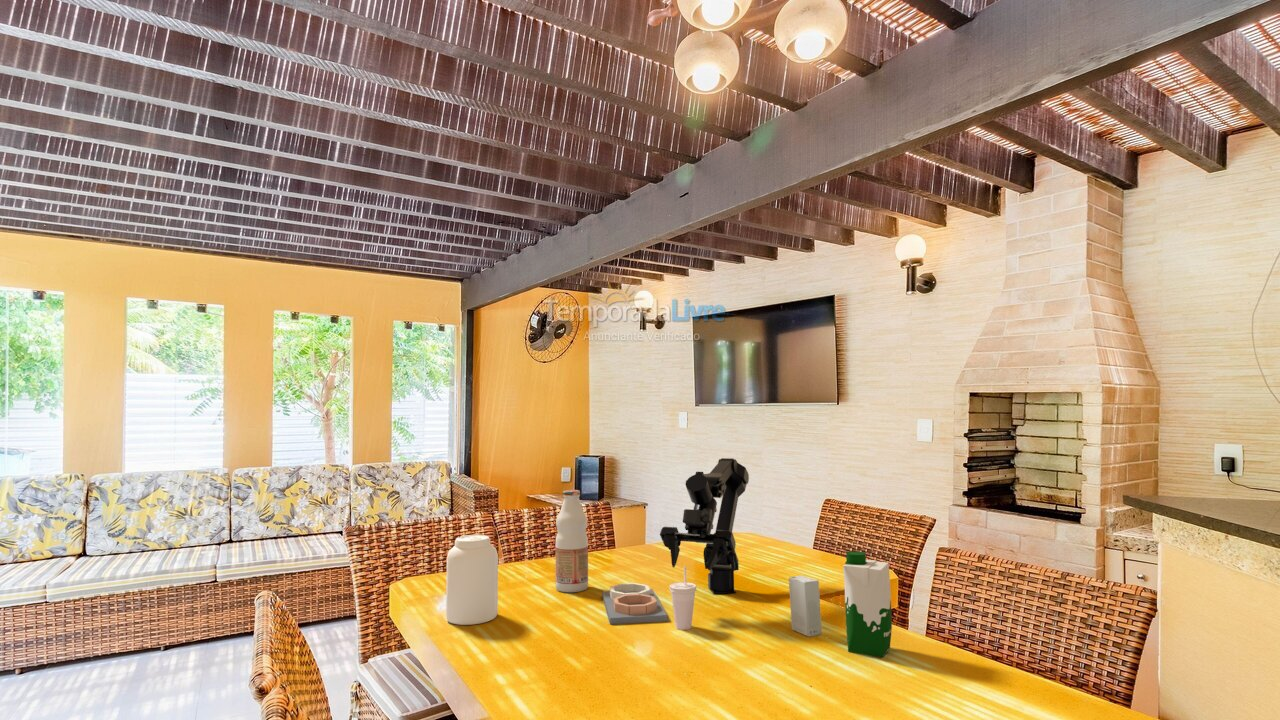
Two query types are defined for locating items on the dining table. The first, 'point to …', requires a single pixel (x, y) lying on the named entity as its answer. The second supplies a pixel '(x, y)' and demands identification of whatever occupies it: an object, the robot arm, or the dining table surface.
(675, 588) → the smoothie
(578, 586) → the fruit juice
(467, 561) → the white plastic jar
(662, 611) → the board
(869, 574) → the milk carton
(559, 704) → the dining table surface
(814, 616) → the skincare box
